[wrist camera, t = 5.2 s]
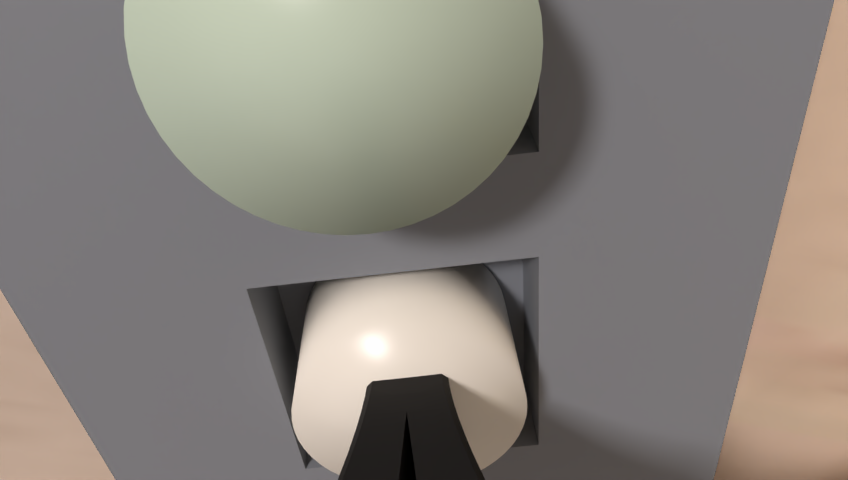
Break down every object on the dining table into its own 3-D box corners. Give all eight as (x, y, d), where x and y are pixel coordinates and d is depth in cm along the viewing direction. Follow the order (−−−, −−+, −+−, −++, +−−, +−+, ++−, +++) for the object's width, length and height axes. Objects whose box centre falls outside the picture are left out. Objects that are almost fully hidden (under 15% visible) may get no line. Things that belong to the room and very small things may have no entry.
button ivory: (325, 397, 15) (316, 498, 13) (286, 250, 13) (266, 345, 11) (508, 378, 15) (528, 476, 13) (502, 226, 13) (525, 317, 11)
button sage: (235, 152, 10) (196, 253, 8) (142, -167, 8) (49, -144, 6) (508, 122, 10) (542, 215, 8) (500, -210, 8) (543, -204, 6)
